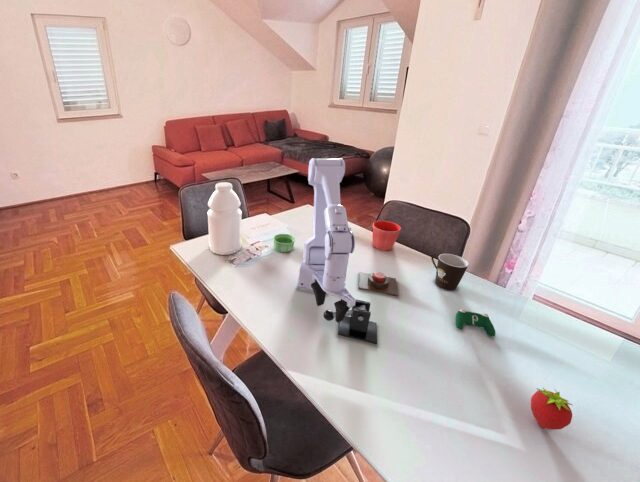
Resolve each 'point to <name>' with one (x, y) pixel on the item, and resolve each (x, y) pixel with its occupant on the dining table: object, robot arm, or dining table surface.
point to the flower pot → (385, 234)
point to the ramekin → (283, 242)
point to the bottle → (224, 220)
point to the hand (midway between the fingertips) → (329, 312)
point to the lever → (330, 315)
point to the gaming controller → (474, 321)
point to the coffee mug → (449, 271)
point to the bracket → (359, 324)
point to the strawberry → (550, 410)
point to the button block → (378, 284)
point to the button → (379, 277)
